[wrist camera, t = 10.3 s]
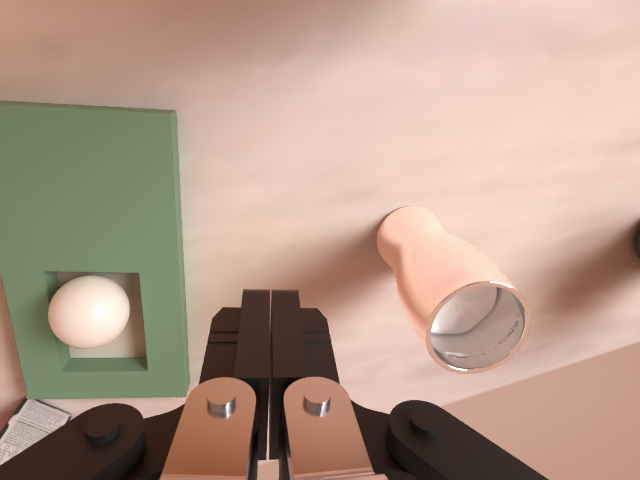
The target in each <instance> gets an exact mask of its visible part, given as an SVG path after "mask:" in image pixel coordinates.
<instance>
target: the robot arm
mask: <svg viewBox="0 0 640 480" xmlns="http://www.w3.org/2000/svg"><path fill="white" fill-rule="evenodd" d="M268 404H269V460H273V459H279V480H548V479H547V478H545V477H544V476H542V475H541V474H539V473H538V472H536V471H535V470H533V469H532V468H530V467H529V466H527V465H526V464H524V463H523V462H521V461H520V460H518V459H517V458H515V457H514V456H512V455H511V454H509V453H508V452H506V451H505V450H503V449H502V448H500V447H499V446H497V445H496V444H494V443H493V442H491V441H490V440H488V439H487V438H486V437H484V436H482V435H481V434H480V433H478V432H477V431H475V430H474V429H472V428H471V427H469V426H468V425H466V424H464V423H463V422H462V421H460V420H458V419H457V418H456V417H454V416H452V415H451V414H450V413H448V412H447V411H445V410H444V409H442V408H440V407H439V406H437V405H434V404H432V403H429V402H425V401H420V400H409V401H405V402H402V403H400V404H398V405H396V406H395V407H394V408H393V409H392V411H391V413H390V414H386V413H382V412H378V411H374V410H370V409H367V408H364V407H362V406H360V405H358V404H356V403H354V402H353V401H352V400H350V398H349V395H348V393H347V392H346V390H345V389H344V388H343V387H342V386H341V385H340V383H339V378H338V373H337V368H336V363H335V358H334V353H333V348H332V345H331V338H330V334H329V328H328V323H327V319H326V318H325V317H324V316H323V315H322V313H321V312H320V311H319V310H318V309H317V308H300V301H299V292H298V290H272V298H271V323H270V290H246V289H243V296H242V305H241V308H230V307H223V308H222V309H221V310H220V311H219V312H218V313H217V314H216V315H215V316H214V317H213V318H212V323H211V328H210V334H209V337H208V344H207V347H206V352H205V357H204V362H203V366H202V371H201V376H200V381H199V385H198V386H197V387H195V388H194V389H193V390H192V391H191V393H190V394H189V396H188V398H187V400H186V403H185V404H184V405H182V406H180V407H179V408H177V409H175V410H172V411H170V412H167V413H164V414H160V415H157V416H153V417H149V418H145V419H143V416H142V415H141V413H140V412H139V411H138V410H137V409H136V408H134V407H132V406H130V405H126V404H121V403H112V404H105V405H100V406H97V407H94V408H91V409H89V410H87V411H85V412H83V413H81V414H80V415H78V416H77V417H75V418H74V419H72V420H70V421H69V422H67V423H66V424H64V425H63V426H61V427H59V428H58V429H56V430H55V431H53V432H52V433H50V434H48V435H47V436H45V437H44V438H42V439H41V440H39V441H37V442H36V443H34V444H33V445H31V446H30V447H28V448H26V449H25V450H23V451H22V452H20V453H19V454H17V455H15V456H14V457H12V458H11V459H9V460H8V461H6V462H4V463H3V464H1V465H0V480H257V465H258V460H266V452H267V428H268Z"/></svg>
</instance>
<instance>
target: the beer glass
mask: <svg viewBox="0 0 640 480" xmlns="http://www.w3.org/2000/svg"><path fill="white" fill-rule="evenodd" d="M376 242H377V248H378V251H379V254H380V255H381V257H382V258H383V260H384V261H385V262H386V263H387V264H388V265H390V266H391V267H392V268H393V270H394V275H395V281H396V287H397V292H398V295H399V299H400V302H401V305H402V308H403V310H404V312H405V314H406V317H407V319H408V321H409V322H410V324H411V326H412V327H413V329H414V331H415V332H416V334H417V335H418V337H419V338H420V340H421V341H422V343H423V344H424V345H425V347H426V348H427V350H428V352H429V354H430V355H431V357H432V358H433V359H434V360H435V362H437V363H438V364H439V365H440V366H442V367H443V368H445V369H447V370H449V371H452V372H456V373H462V374H474V373H480V372H485V371H488V370H491V369H493V368H495V367H497V366H499V365H501V364H503V363H504V362H506V361H507V360H508V359H510V358H511V357H512V356H513V355H514V354H515V353H516V352H517V351H518V350H519V349H520V347H521V346H522V345H523V343H524V341H525V340H526V337H527V335H528V333H529V329H530V325H531V312H530V308H529V305H528V303H527V301H526V299H525V297H524V296H523V295H522V294H521V293H520V292H519V291H518V290H517V289H516V288H515V286H514V285H513V284H512V283H511V281H510V280H509V279H508V278H507V277H506V275H505V274H504V273H503V272H502V271H501V270H500V269H499V268H498V267H497V266H496V265H495V264H494V263H493V261H491V260H490V259H489V258H488V257H487V256H486V255H484V254H483V253H482V252H481V251H480V250H478V249H477V248H475V247H473V246H472V245H470V244H468V243H467V242H465V241H463V240H461V239H459V238H457V237H455V236H453V235H450V234H448V233H446V232H445V231H444V230H443V227H442V225H441V223H440V221H439V219H438V218H437V217H436V216H435V215H434V214H433V213H432V212H431V211H429V210H427V209H425V208H423V207H418V206H407V207H403V208H400V209H398V210H396V211H394V212H392V213H391V214H390V215H388V216H387V217H386V218H385V219H384V221H383V222H382V224H381V225H380V227H379V230H378V233H377V239H376Z"/></svg>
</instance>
